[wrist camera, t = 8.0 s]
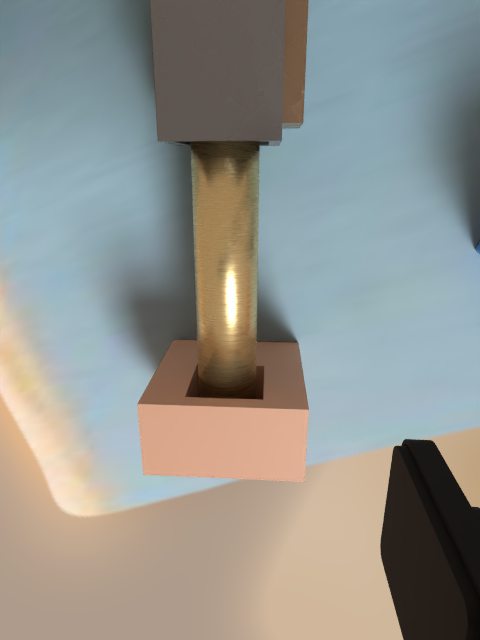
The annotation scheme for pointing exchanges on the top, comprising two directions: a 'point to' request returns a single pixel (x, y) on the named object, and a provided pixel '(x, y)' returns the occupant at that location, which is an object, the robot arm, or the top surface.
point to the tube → (226, 265)
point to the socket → (226, 419)
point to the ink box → (478, 248)
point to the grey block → (228, 69)
